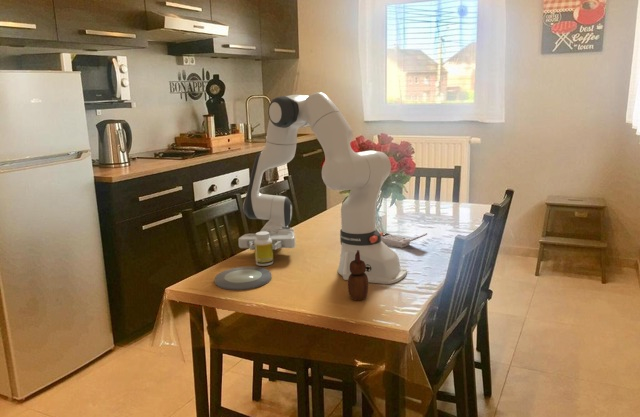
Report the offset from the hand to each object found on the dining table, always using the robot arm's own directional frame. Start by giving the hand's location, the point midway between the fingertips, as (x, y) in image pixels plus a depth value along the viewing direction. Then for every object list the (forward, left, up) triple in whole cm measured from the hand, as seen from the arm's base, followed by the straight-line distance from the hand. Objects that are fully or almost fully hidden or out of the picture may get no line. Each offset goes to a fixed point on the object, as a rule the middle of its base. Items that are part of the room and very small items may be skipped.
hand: (262, 247), depth 183 cm
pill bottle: (0, -1, -6) cm, 6 cm away
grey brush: (-31, -41, -7) cm, 52 cm away
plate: (-3, +14, -6) cm, 16 cm away
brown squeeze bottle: (-43, +11, -7) cm, 44 cm away
